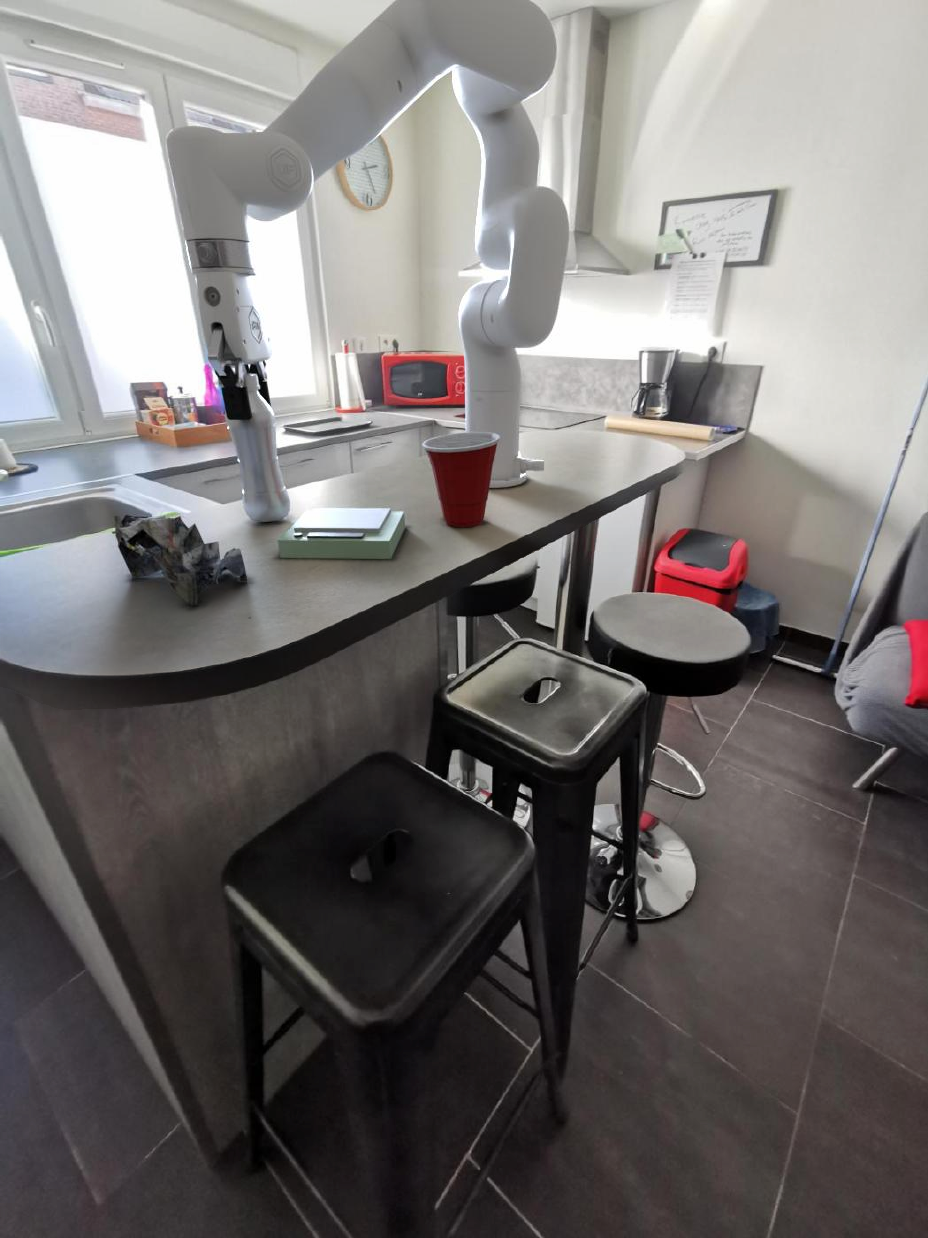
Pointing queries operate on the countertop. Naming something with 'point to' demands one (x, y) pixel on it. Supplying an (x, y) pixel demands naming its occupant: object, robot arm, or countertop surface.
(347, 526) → the scale
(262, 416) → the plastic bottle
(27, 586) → the countertop surface
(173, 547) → the crumpled newspaper
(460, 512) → the plastic cup
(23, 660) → the countertop surface
